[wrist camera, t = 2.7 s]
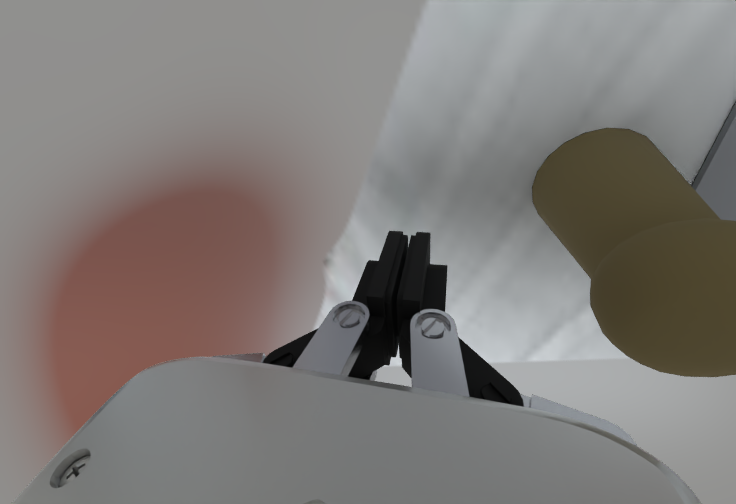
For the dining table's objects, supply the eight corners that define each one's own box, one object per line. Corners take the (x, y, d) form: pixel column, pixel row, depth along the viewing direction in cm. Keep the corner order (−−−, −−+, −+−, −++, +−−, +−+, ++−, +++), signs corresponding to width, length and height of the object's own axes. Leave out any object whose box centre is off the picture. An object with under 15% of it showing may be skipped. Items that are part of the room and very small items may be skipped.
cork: (640, 231, 18) (807, 419, 9) (525, 231, 20) (576, 391, 11) (682, 121, 15) (1003, 255, 6) (540, 133, 16) (629, 251, 8)
